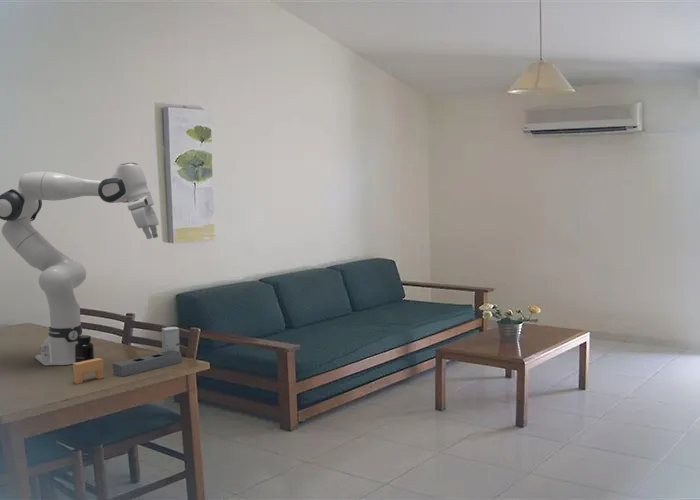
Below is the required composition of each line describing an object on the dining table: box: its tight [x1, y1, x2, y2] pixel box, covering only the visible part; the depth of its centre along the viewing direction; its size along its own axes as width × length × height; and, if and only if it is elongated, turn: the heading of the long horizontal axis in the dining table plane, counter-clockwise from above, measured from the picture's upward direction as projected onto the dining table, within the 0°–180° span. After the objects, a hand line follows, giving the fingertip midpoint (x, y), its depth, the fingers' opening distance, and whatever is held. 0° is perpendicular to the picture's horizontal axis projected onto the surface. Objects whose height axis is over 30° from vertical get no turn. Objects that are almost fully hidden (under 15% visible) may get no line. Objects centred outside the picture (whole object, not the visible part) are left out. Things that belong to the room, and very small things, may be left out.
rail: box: [112, 350, 183, 378], centre depth 272 cm, size 6×26×4 cm, turn 138°
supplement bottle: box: [75, 334, 95, 363], centre depth 274 cm, size 7×7×12 cm
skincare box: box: [161, 326, 180, 353], centre depth 287 cm, size 6×4×12 cm
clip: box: [72, 357, 105, 385], centre depth 256 cm, size 3×10×7 cm, turn 138°
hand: (152, 238), depth 273 cm, fingers open, 8 cm apart
